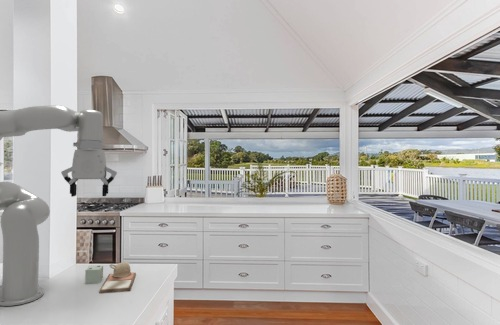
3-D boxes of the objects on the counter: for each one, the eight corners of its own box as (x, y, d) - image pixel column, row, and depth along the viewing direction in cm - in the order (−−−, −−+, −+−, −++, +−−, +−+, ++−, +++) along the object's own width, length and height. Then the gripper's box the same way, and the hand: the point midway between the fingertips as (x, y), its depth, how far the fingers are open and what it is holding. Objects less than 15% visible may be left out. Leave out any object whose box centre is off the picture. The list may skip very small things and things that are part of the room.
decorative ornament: (133, 275, 120) (133, 261, 120) (110, 280, 115) (110, 265, 115) (129, 272, 123) (130, 259, 123) (107, 277, 118) (107, 262, 118)
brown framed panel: (99, 293, 106) (99, 289, 106) (109, 276, 121) (109, 273, 121) (130, 291, 108) (130, 287, 108) (135, 275, 124) (135, 272, 124)
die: (85, 283, 114) (85, 270, 114) (88, 278, 119) (89, 265, 119) (99, 282, 115) (100, 269, 115) (102, 278, 120) (103, 264, 120)
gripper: (58, 144, 101) (57, 197, 101) (115, 146, 105) (114, 196, 105) (66, 146, 108) (65, 195, 108) (119, 147, 112) (118, 194, 112)
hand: (89, 196), depth 106 cm, fingers open, 9 cm apart
